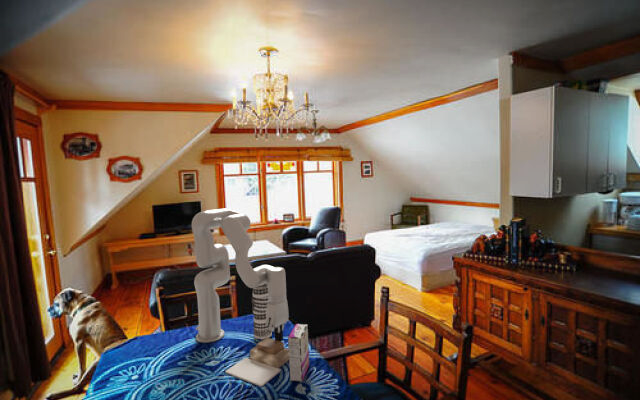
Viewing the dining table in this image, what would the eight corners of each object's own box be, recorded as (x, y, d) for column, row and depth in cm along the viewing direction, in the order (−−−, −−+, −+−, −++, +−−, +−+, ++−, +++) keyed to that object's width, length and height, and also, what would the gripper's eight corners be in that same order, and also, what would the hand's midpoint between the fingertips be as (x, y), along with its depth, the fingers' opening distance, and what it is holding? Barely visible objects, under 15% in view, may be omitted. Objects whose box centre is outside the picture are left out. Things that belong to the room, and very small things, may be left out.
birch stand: (250, 359, 134) (250, 350, 134) (263, 350, 141) (263, 341, 141) (277, 368, 127) (277, 358, 127) (290, 359, 134) (289, 349, 134)
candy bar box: (297, 364, 130) (295, 323, 129) (309, 365, 129) (308, 324, 128) (289, 381, 119) (287, 336, 118) (302, 382, 118) (300, 337, 117)
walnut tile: (257, 349, 134) (257, 343, 134) (267, 343, 139) (266, 337, 139) (274, 355, 129) (274, 349, 129) (284, 348, 135) (283, 342, 134)
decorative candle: (271, 339, 151) (269, 285, 150) (251, 339, 151) (248, 286, 150) (274, 330, 160) (272, 279, 159) (255, 330, 160) (253, 280, 159)
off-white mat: (225, 372, 126) (225, 371, 126) (246, 358, 135) (245, 357, 135) (261, 386, 116) (261, 385, 116) (280, 371, 126) (280, 369, 126)
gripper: (281, 290, 146) (282, 331, 147) (258, 302, 133) (260, 346, 134) (295, 293, 142) (296, 334, 143) (272, 305, 129) (274, 350, 131)
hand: (278, 340), depth 139 cm, fingers closed
